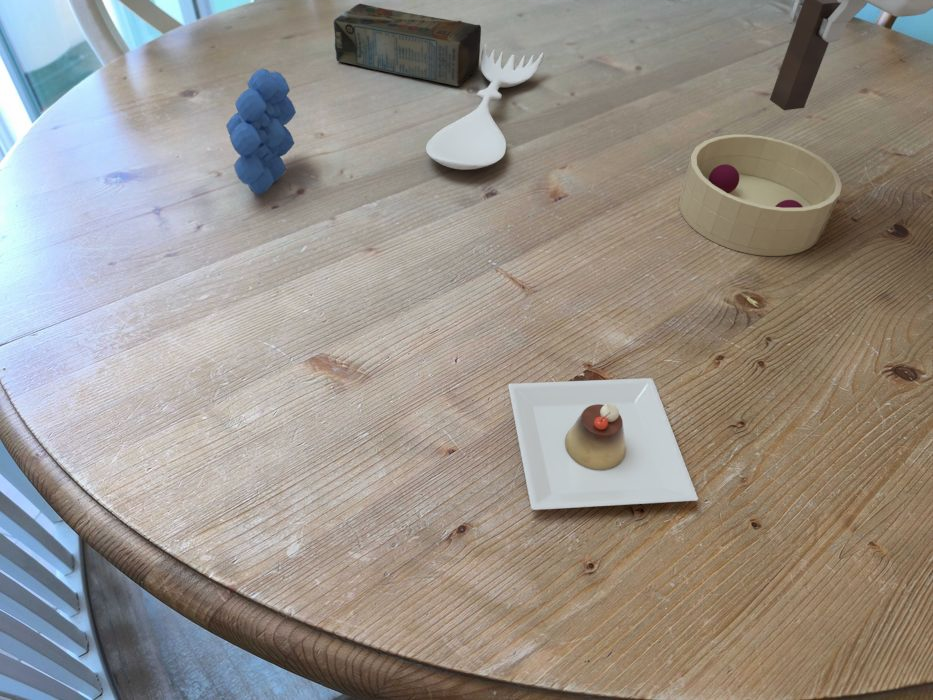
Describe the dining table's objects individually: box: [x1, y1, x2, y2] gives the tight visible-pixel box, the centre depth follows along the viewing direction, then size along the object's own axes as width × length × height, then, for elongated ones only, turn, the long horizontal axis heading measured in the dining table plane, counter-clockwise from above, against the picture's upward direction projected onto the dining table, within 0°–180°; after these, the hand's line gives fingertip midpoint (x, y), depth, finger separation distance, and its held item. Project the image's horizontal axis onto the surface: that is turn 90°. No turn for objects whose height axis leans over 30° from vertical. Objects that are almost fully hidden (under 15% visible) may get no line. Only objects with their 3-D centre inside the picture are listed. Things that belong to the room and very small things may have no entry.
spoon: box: [425, 43, 545, 170], centre depth 94 cm, size 9×32×4 cm, turn 165°
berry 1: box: [709, 164, 739, 193], centre depth 82 cm, size 3×3×3 cm
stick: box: [769, 0, 841, 111], centre depth 70 cm, size 2×2×10 cm
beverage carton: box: [332, 3, 482, 87], centre depth 103 cm, size 8×19×7 cm, turn 69°
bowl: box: [678, 133, 843, 257], centre depth 80 cm, size 15×15×6 cm
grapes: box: [226, 67, 297, 195], centre depth 78 cm, size 12×7×12 cm, turn 166°
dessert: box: [507, 377, 699, 511], centre depth 56 cm, size 12×12×5 cm
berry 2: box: [775, 200, 803, 208], centre depth 78 cm, size 3×3×3 cm
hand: (813, 31), depth 69 cm, fingers closed on stick, 2 cm apart
